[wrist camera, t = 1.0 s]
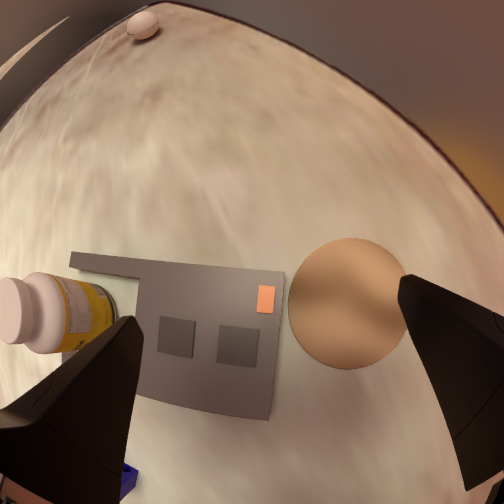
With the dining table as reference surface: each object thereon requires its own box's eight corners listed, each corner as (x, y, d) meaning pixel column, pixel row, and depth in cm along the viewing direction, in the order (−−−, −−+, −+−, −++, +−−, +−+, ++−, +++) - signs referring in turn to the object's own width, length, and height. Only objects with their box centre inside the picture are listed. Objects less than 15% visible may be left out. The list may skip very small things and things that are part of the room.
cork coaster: (403, 366, 20) (405, 367, 19) (281, 365, 21) (281, 366, 21) (410, 244, 22) (412, 243, 22) (293, 234, 23) (293, 233, 23)
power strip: (269, 413, 20) (268, 423, 18) (72, 363, 23) (58, 366, 21) (284, 275, 23) (284, 271, 20) (81, 254, 25) (67, 250, 23)
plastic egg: (132, 37, 34) (121, 16, 28) (161, 24, 34) (152, 2, 28) (134, 54, 32) (121, 31, 27) (167, 40, 32) (156, 15, 26)
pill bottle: (68, 333, 24) (-16, 333, 12) (80, 276, 25) (-5, 254, 13) (112, 357, 23) (23, 374, 11) (126, 295, 24) (35, 280, 12)
